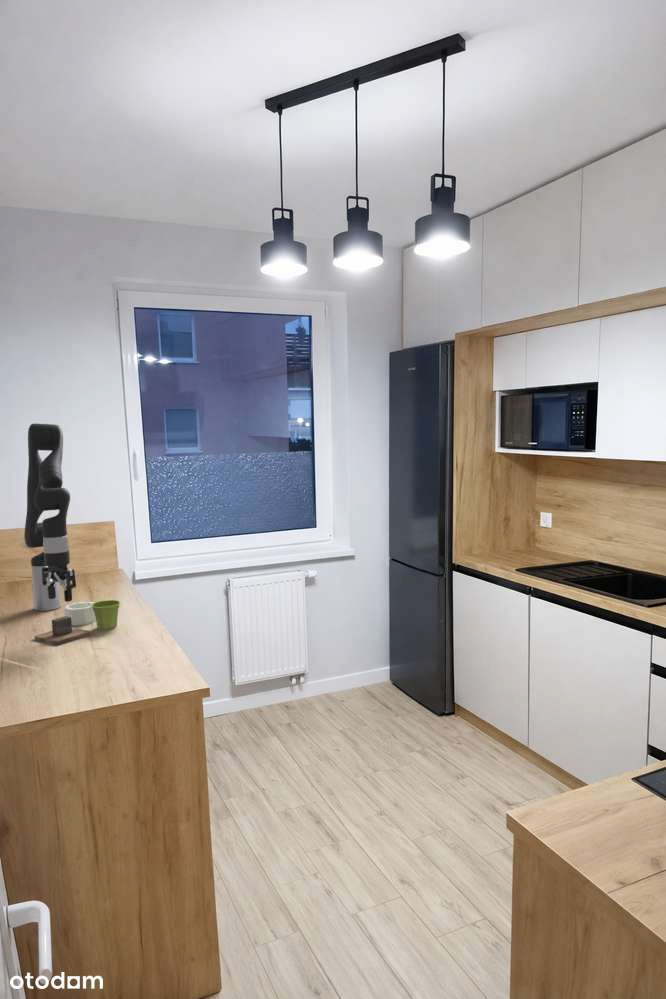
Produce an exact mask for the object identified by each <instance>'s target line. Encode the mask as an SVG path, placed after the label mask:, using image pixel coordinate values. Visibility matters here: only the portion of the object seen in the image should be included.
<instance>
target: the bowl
mask: <svg viewBox="0 0 666 999" xmlns="http://www.w3.org/2000/svg"><path fill="white" fill-rule="evenodd" d="M93 603H95V602H93V601H82V602H81V601H80V602H74V603H70V604H67V605H65V607H64V609H63V610H64V616H68V617H71V623H72V626H80V625H81V626H83V625H88V624H92V623H95V622H96V618H95V613H94V611H93V608H92V607H91V605H92V604H93Z"/></svg>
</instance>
